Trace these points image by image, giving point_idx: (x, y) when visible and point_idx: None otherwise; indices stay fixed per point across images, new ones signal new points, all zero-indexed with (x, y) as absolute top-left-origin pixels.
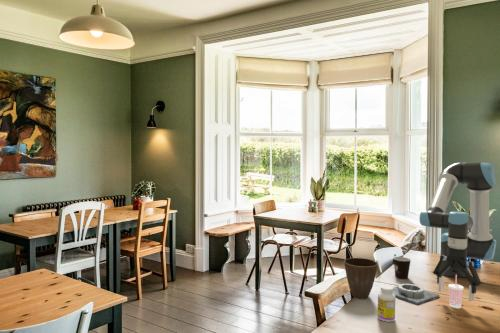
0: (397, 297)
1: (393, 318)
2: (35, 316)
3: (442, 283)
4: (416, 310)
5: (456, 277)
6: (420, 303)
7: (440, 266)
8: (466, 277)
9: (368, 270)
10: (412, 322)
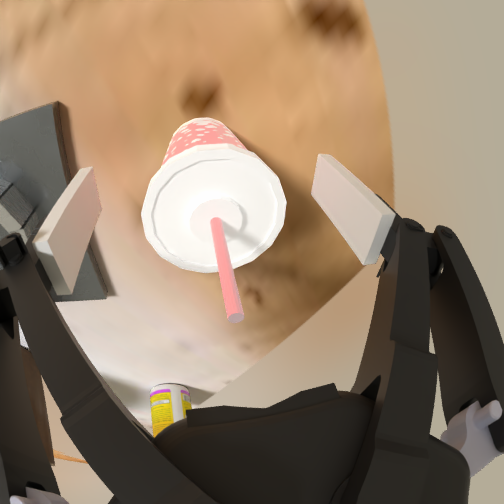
0: None
1: (189, 395)
2: (83, 461)
3: (76, 217)
4: (152, 325)
5: (235, 291)
6: (100, 274)
7: (14, 386)
8: (372, 321)
9: (52, 453)
10: (212, 370)
